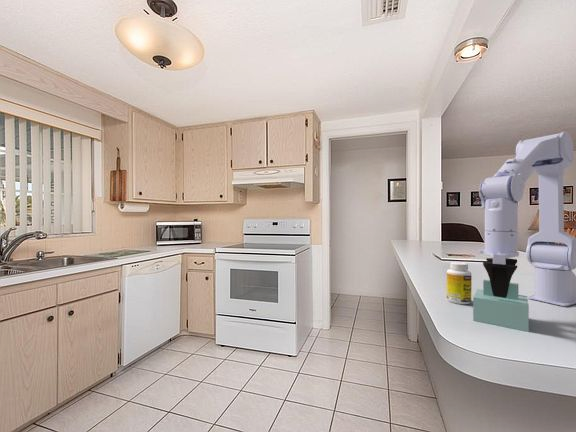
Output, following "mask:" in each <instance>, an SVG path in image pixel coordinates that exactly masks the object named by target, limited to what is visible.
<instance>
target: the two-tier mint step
mask: <svg viewBox="0 0 576 432" xmlns="http://www.w3.org/2000/svg"><path fill="white" fill-rule="evenodd" d="M527 297H528V296H527V295H522V294H519V283H516V282H510V284H509V289H508V294H507V297H506V298H502V297H495V296H494V295H493V292H492V288H491V283H490V279H483V288H482V289H479V288H477V290H476V292H475V293H474V296H472V299H473V300H472V306H473V307H472V309H473V312H472V320H473V321H474V322H479V323H483V324H488V325H493V326H498V327H503V328H509V329H513V330H518V331H524V332H529V331H530V330H529V327H530V326H529V323H530V322H529V320H530V319H529V313H530V312H529V310H530V309H529V300H528V299H529V298H527Z"/></svg>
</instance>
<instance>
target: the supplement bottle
mask: <svg viewBox="0 0 576 432" xmlns="http://www.w3.org/2000/svg"><path fill="white" fill-rule="evenodd" d="M449 265H450V266H449V267H450V269H447V271H446V300H447V301H449V302H450V303H453V304H458V305H469V304H471V303H472V279H473V278H472V276H473V275H472V272H471V271H470V270H469V264H468V263H466V262H458V261H452V262H450V264H449Z"/></svg>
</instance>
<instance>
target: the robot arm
mask: <svg viewBox="0 0 576 432" xmlns="http://www.w3.org/2000/svg"><path fill="white" fill-rule="evenodd" d="M573 160H574V141H573V138H572V136H571V134H570V133H569V132H568V131H561V132H559V133H556V134H555V133H554V134H549V135H543V136H540V137H534V138H530V139H521V140H519V141H518V143H517V144H516V146H515V157H514V158H508V159H506V161H505V162H504V163H503V165H502V166H500V168H499V169H498V170H497V171H496V173H495V174H494V175H493V176H492V177H487V178H485V179H484V180H482V181H481V183H480V185H479V189H478V195H479V199H480V202H481V208H482V211H484V249H478V250H477V253H478V254H483V255H486V256H489V257H490V258H489V257H488V258H486V259H485V260H486V261H483V262H482V265H483V267H484V269H485V271H486V273H487V275H488V280H490V283H491V288H492V292H493V295H494V296H495V297H502V298H506V297H507V294H508V289H509V284H510V283H511V280H512V277H513V275H514V273H515V272H516V270H517V269H518V265H517V263H518V259H517V258H518V257H519V256H520V252H518V248H519V247H518V239H519V237H518V235H519V232H518V229H519V227H518V226H519V225H518V224H519V222H518V219H519V218H518V215H519V214H518V213H519V210H518V207H519V202H520V201H521V200H522V199H523V198H524V193H525V192H524V191H525V189H526V182H527V181H528V180H529V178H530V177H531V175H532V174H533V172H536V173H537V174H538V229H539V230H538V232H536V233H534V234H532V235H531V236H529V237H528V239H527V246H526V250H525V257H526V259H527V261H528V262H529V264H531V266H532V267H534V294H533V295H532V294H531V295H528V296H527V299H530V300H535V301H539V302H543V303H547V304H552V305H556V306H557V305H558V306H561V307H568V306H571V305H575V304H576V274H575V272H573V270H576V237H575V236H574V235H571V234H570V233H568V232H566V231H565V230H564V229H565V225H564V223H565V222H564V221H565V219H564V215H565V214H564V172H565V169H566V168H567V167H568V168H569V167H570V166H572V165H573ZM515 258H516V259H515Z"/></svg>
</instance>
